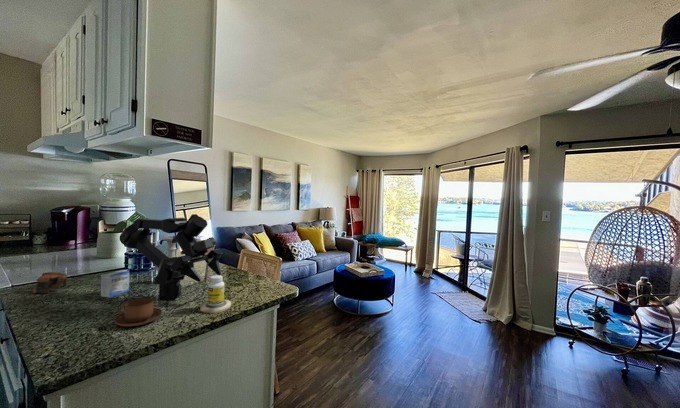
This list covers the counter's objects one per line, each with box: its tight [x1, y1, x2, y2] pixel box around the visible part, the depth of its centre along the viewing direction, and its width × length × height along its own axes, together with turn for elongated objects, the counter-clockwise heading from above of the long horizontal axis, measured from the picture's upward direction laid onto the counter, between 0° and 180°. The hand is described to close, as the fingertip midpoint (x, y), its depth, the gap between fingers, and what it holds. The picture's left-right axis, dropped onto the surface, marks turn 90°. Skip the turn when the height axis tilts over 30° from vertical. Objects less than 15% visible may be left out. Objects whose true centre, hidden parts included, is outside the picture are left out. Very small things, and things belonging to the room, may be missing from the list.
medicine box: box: [100, 269, 130, 298], centre depth 108 cm, size 8×4×9 cm, turn 168°
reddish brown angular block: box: [32, 271, 68, 294], centre depth 110 cm, size 12×10×8 cm
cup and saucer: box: [114, 297, 163, 328], centre depth 86 cm, size 12×12×6 cm
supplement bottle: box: [207, 274, 225, 306], centre depth 98 cm, size 5×5×10 cm
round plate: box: [199, 298, 232, 314], centre depth 98 cm, size 10×10×1 cm
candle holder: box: [162, 236, 182, 282], centre depth 126 cm, size 9×9×20 cm
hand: (210, 277), depth 99 cm, fingers open, 9 cm apart
